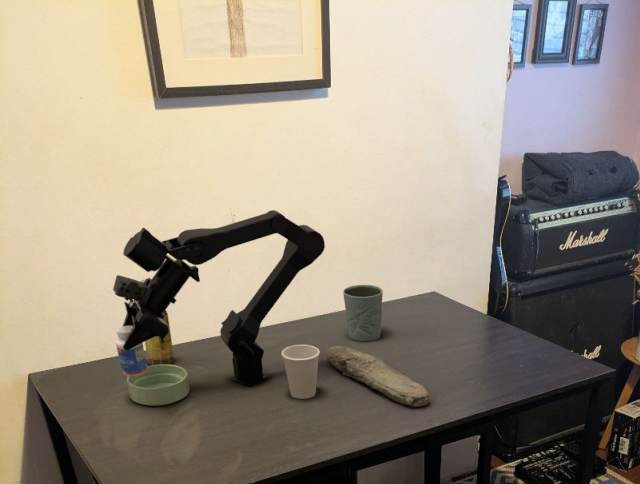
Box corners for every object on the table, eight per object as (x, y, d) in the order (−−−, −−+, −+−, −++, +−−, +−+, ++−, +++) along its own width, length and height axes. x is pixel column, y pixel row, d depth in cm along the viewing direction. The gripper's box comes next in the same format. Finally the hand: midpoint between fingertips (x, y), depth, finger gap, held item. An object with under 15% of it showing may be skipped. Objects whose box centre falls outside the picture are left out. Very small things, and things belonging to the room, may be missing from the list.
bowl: (202, 392, 174) (199, 373, 171) (156, 413, 165) (152, 393, 163) (164, 377, 180) (161, 359, 178) (118, 396, 172) (114, 378, 169)
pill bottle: (116, 374, 166) (107, 331, 161) (132, 365, 170) (123, 322, 165) (137, 378, 164) (128, 335, 159) (153, 368, 168) (144, 325, 163)
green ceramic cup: (382, 342, 199) (382, 297, 192) (343, 342, 199) (342, 296, 192) (382, 328, 207) (383, 284, 200) (345, 328, 207) (344, 284, 201)
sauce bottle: (168, 368, 185) (154, 286, 173) (143, 366, 186) (128, 284, 174) (179, 358, 190) (167, 278, 179) (155, 356, 191) (142, 276, 180)
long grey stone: (405, 419, 166) (439, 408, 171) (407, 397, 163) (442, 387, 168) (314, 360, 188) (347, 352, 193) (314, 339, 185) (348, 332, 190)
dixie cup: (305, 382, 179) (303, 341, 173) (329, 393, 174) (327, 351, 168) (276, 393, 174) (273, 351, 168) (300, 405, 169) (297, 362, 163)
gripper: (124, 249, 162) (82, 308, 165) (141, 274, 148) (94, 338, 151) (168, 281, 170) (127, 337, 172) (188, 307, 156) (143, 368, 158)
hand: (122, 344), depth 163 cm, fingers closed on pill bottle, 5 cm apart
